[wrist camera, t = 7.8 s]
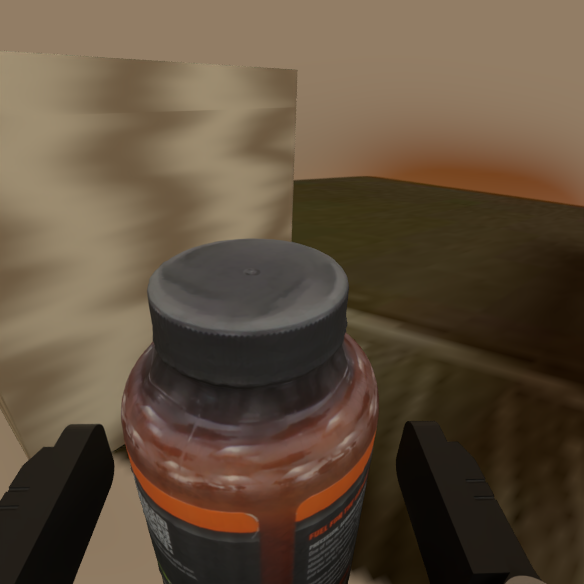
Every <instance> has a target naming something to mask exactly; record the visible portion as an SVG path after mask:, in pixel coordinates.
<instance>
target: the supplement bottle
mask: <svg viewBox="0 0 584 584" xmlns="http://www.w3.org/2000/svg"><path fill="white" fill-rule="evenodd" d="M348 290H349V285H348V279H347V276H346V274H345V272H344V270H343V269H342V267H341V266H340V265H339V264H337V262H336V261H335V260H334V259H332V258H331V257H330V256H328V255H326V254H324V253H322V252H320V251H319V250H316V249H314V248H311V247H308V246H304V245H301V244H298V243H294V242H289V241H284V240H274V239H255V238H247V239H234V240H224V241H217V242H212V243H208V244H204V245H200V246H197V247H193V248H191V249H188V250H185V251H183V252H181V253H179V254H177V255H176V256H174V257H172V258H170V259H169V260H167V261H165V262H163V263H162V264H161V265H160V267H159V268H158V269H157V270H155V271H154V273H153V274H152V276H151V277H150V279H149V284H148V287H147V296H148V304H149V310H150V315H151V321H152V326H153V327H152V331H153V342H152V343H151V344H150V346H149V347H148V348H147V349H146V350H145V351H144V352H143V354H142V355H141V356H140V357H139V359H138V360H137V361H136V363H135V365H134V367H133V368H132V370H131V372H130V374H129V376H128V379H127V381H126V384H125V389H124V392H123V396H122V403H121V423H122V428H123V435H124V441H125V445H126V448H127V452H128V456H129V459H130V463H131V470H132V472H133V475H134V479H135V483H136V486H137V490H138V494H139V498H140V501H141V504H142V507H143V512H144V514H145V517H146V522H147V525H148V530H149V533H150V537H151V540H152V544H153V547H154V550H155V554H156V558H157V561H158V566H159V571H160V573H161V575H162V578H163V583H164V584H348V580H349V576H350V570H351V564H352V559H353V553H354V548H355V542H356V537H357V531H358V527H359V521H360V515H361V510H362V504H363V499H364V493H365V489H366V483H367V477H368V472H369V467H370V462H371V456H372V452H373V443H374V438H375V433H376V428H377V422H378V416H379V396H378V387H377V382H376V379H375V375H374V371H373V369H372V366H371V363H370V362H369V360H368V358H367V356H366V354H365V353H364V351H363V350H362V348H361V347H360V346H359V345H358V344H357V343H356V341H355V340H354V339H352V337H350V336H349V335H348V334H347V333H346V327H347V318H346V309H347V301H348Z"/></svg>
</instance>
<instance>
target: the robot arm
mask: <svg viewBox="0 0 584 584" xmlns="http://www.w3.org/2000/svg"><path fill="white" fill-rule="evenodd" d="M396 471H397V478H398V482H399V485H400V488H401V491H402V495H403V498H404V501H405V504H406V507H407V510H408V514H409V517H410V520H411V523H412V526H413V530H414V533H415V536H416V539H417V542H418V545H419V549H420V552H421V555H422V558H423V561H424V565H425V568H426V571H427V574H428V577H429V580H430V584H546V583H544V582H543V581H542V580H541V579H540V578H539V576H538V575H537V574H536V572H535V571H534V569H533V567H532V566H531V564H530V562H529V560H528V558H527V556H526V554H525V553H524V551H523V549H522V547H521V545H520V543H519V541H518V539H517V537H516V536H515V534H514V532H513V530H512V528H511V526H510V524H509V522H508V521H507V519H506V517H505V515H504V513H503V511H502V509H501V507H500V506H499V504H498V502H497V500H495V499H494V494H493V492H492V491H491V489H490V487H489V485H488V483H486V482H485V477H484V476H483V474H482V472H481V470H480V468H479V466H478V464H477V462H476V461H475V459H474V458H473V457H472V456H471V455H470V454H469V453H468V452H467V451H466V450H465V449H464V447H463V446H462V445H461V444H460V443H459V442H447V440H446V438H445V436H444V434H443V432H442V430H441V428H440V426H439V424H438V423H437V422H436V421H407V422H406V423H405V426H404V430H403V434H402V438H401V441H400V445H399V449H398V453H397V457H396ZM113 476H114V460H113V456H112V453H111V450H110V446H109V443H108V440H107V436H106V433H105V430H104V427H103V425H102V424H70V425H68V426H67V427H66V428H65V429H64V430H63V432H62V433H61V435H60V437H59V439H58V440H57V442H56V444H55V445H54V447H43V448H42V449H40V450H39V451H38V452H37V453H36V454H35V455H34V456H33V457H32V458H31V459H29V460H28V461H27V462H26V463H25V464H24V465H23V466H22V468H21V469H20V471H19V472H18V474H17V475H16V477H15V479H14V480H13V482H12V483H11V485H10V486H9V490H8V492H6V493H5V494H4V496H3V497H2V499H1V500H0V584H73V582H74V579H75V577H76V574H77V572H78V569H79V566H80V564H81V561H82V559H83V556H84V554H85V551H86V549H87V546H88V544H89V541H90V538H91V536H92V533H93V531H94V528H95V526H96V523H97V521H98V518H99V516H100V513H101V510H102V508H103V505H104V503H105V500H106V498H107V495H108V493H109V490H110V488H111V485H112V481H113Z"/></svg>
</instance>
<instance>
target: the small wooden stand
mask: <svg viewBox="0 0 584 584" xmlns="http://www.w3.org/2000/svg"><path fill="white" fill-rule="evenodd" d="M296 96H297V70H292V69H276V68H261V67H245V66H228V65H213V64H198V63H182V62H165V61H151V60H135V59H119V58H104V57H88V56H73V55H57V54H56V55H55V54H41V53H25V52H9V51H0V409H1V411H2V413H3V414H4V416H5V418H6V420H7V422H8V423H9V425H10V427H11V429H12V431H13V432H14V434H15V436H16V438H17V440H18V441H19V443H20V445H21V447H22V448H23V451H24V452H25V454H26V456H27V458H28V460H29V459H31V458H32V457H33V456H34V455H35V454H36V453H37V452H38V451H39V450H40V449H42V448H43V447H54V445H55V444H56V442H57V440H58V439H59V437H60V435H61V433H62V432H63V430H64V429H65V428H66V427H67V426H68V425H70V424H102V425H103V427H104V430H105V433H106V436H107V440H108V443H109V446H110V450H111V452H113V451H114V450H116V449H117V448H119V447H121V446H122V445H124V444H125V441H124V435H123V428H122V423H121V403H122V396H123V392H124V389H125V384H126V381H127V379H128V376H129V374H130V372H131V370H132V368H133V367H134V365H135V363H136V361H137V360H138V359H139V357H140V356H141V355H142V354H143V352H144V351H145V350H146V349H147V348H148V347H149V346H150V344H151V343H152V342H153V331H152V327H153V326H152V321H151V315H150V310H149V304H148V296H147V287H148V284H149V279H150V277H151V276H152V274H153V273H154V271H155V270H157V269H158V268H159V267H160V265H161V264H162V263H163V262H165V261H167V260H169V259H170V258H172V257H174V256H176V255H177V254H179V253H181V252H183V251H185V250H188V249H191V248H193V247H197V246H200V245H204V244H208V243H212V242H217V241H224V240H234V239H247V238H255V239H274V240H284V241H289V242H291V235H292V207H293V179H294V149H295V123H296Z"/></svg>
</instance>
